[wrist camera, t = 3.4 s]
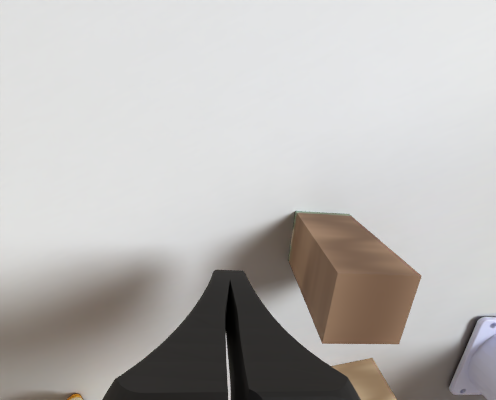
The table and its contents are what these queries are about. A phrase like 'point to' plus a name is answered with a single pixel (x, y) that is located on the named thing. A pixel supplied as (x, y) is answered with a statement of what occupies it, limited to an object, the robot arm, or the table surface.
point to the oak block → (366, 380)
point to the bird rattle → (75, 397)
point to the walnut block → (350, 280)
